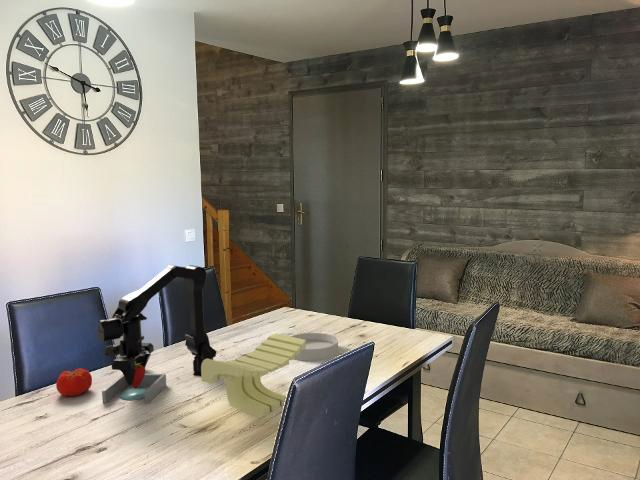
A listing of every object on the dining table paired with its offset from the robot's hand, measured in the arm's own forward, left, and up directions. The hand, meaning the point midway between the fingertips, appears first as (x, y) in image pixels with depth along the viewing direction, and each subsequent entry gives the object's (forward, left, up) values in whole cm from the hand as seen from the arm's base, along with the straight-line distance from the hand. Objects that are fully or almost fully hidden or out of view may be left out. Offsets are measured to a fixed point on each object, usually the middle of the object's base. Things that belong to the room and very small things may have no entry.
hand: (135, 380), depth 171 cm
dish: (-54, -44, -5) cm, 70 cm away
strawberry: (0, 0, -3) cm, 3 cm away
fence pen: (0, 0, -4) cm, 4 cm away
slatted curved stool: (-42, +5, -5) cm, 42 cm away
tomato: (+21, 0, -5) cm, 22 cm away
